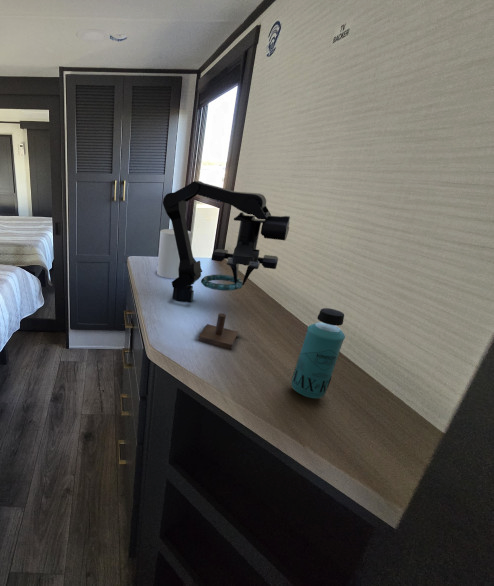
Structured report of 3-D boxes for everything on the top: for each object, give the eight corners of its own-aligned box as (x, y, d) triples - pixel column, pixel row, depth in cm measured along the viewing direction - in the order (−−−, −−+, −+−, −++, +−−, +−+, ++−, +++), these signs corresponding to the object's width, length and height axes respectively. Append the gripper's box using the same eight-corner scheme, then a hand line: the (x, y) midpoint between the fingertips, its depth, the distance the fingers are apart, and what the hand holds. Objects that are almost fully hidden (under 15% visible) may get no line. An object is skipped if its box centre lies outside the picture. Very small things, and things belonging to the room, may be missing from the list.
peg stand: (198, 340, 89) (201, 316, 86) (206, 328, 96) (209, 305, 93) (231, 349, 84) (235, 324, 82) (237, 336, 92) (241, 312, 89)
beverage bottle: (282, 385, 70) (304, 304, 63) (309, 384, 71) (335, 304, 64) (301, 406, 64) (328, 318, 57) (331, 404, 65) (362, 317, 58)
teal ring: (196, 288, 102) (197, 282, 102) (206, 277, 113) (207, 272, 112) (239, 293, 96) (239, 287, 95) (245, 282, 106) (246, 276, 106)
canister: (151, 271, 150) (154, 229, 143) (174, 268, 155) (179, 228, 148) (167, 280, 138) (171, 235, 131) (192, 276, 144) (197, 233, 136)
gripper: (210, 237, 94) (204, 285, 99) (280, 244, 85) (269, 297, 90) (218, 231, 103) (212, 276, 108) (282, 238, 94) (272, 286, 99)
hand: (239, 284), depth 101 cm, fingers closed on teal ring, 2 cm apart
